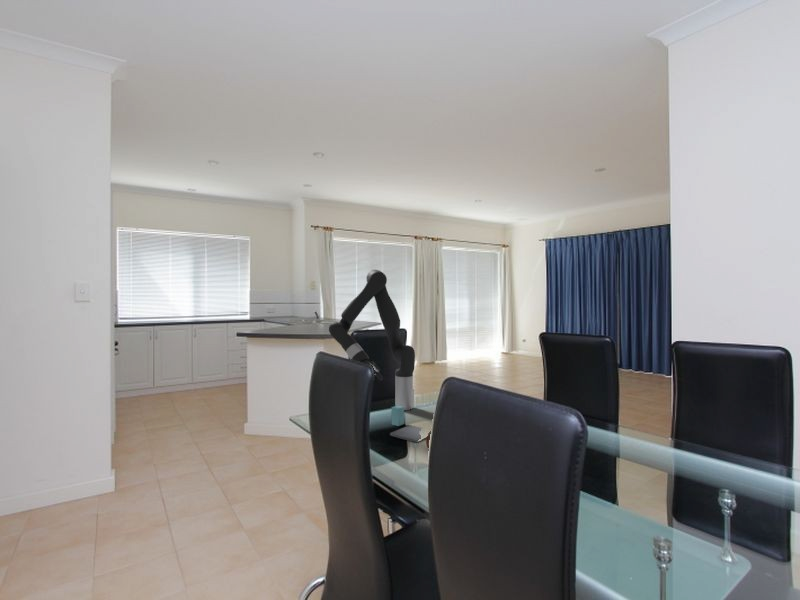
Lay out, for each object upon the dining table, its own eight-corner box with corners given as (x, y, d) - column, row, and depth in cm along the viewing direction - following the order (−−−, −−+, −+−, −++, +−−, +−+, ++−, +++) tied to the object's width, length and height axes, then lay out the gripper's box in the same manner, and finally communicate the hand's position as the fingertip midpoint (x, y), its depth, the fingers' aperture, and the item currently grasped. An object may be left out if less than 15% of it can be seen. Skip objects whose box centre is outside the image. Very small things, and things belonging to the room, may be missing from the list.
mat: (409, 427, 186) (409, 425, 186) (436, 433, 177) (436, 431, 177) (390, 435, 175) (389, 433, 175) (416, 442, 166) (416, 440, 166)
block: (397, 422, 193) (397, 405, 193) (403, 424, 191) (403, 406, 190) (391, 424, 190) (391, 407, 190) (398, 426, 187) (398, 408, 187)
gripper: (353, 351, 193) (374, 378, 187) (369, 348, 205) (389, 373, 200) (344, 361, 195) (364, 388, 190) (360, 358, 208) (380, 383, 202)
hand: (377, 381), depth 195 cm, fingers open, 8 cm apart
